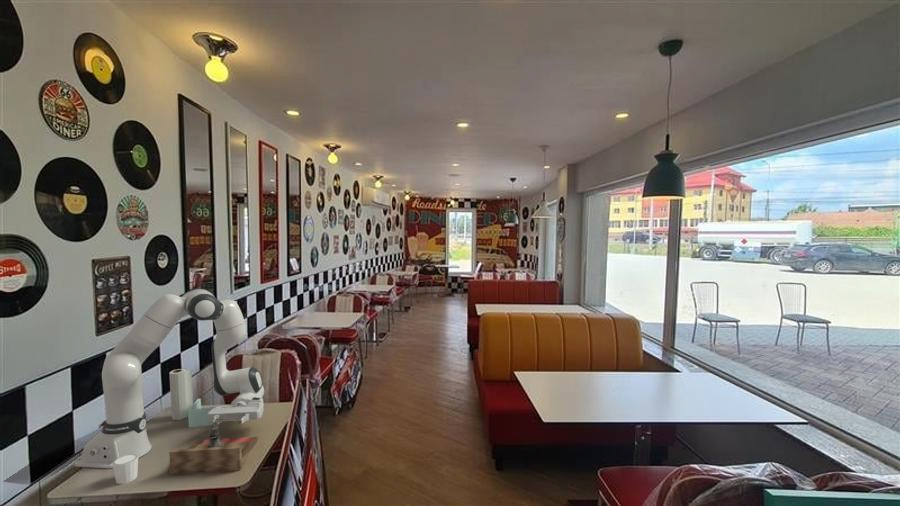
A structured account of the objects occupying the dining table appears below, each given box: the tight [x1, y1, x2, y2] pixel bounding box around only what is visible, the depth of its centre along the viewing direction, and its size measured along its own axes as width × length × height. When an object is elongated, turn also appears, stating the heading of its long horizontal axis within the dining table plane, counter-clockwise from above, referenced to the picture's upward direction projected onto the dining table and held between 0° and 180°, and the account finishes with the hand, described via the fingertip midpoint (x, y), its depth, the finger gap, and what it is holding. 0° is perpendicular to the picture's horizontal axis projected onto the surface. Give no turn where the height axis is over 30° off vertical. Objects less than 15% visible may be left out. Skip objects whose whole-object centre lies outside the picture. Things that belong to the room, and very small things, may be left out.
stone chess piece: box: [206, 424, 224, 448], centre depth 148 cm, size 6×6×12 cm
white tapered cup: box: [112, 454, 139, 485], centre depth 137 cm, size 7×7×7 cm
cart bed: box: [169, 436, 259, 475], centre depth 150 cm, size 23×21×8 cm
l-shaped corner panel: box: [187, 398, 222, 428], centre depth 178 cm, size 12×12×8 cm
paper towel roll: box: [168, 368, 194, 421], centre depth 179 cm, size 7×6×21 cm
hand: (227, 422), depth 157 cm, fingers open, 8 cm apart
